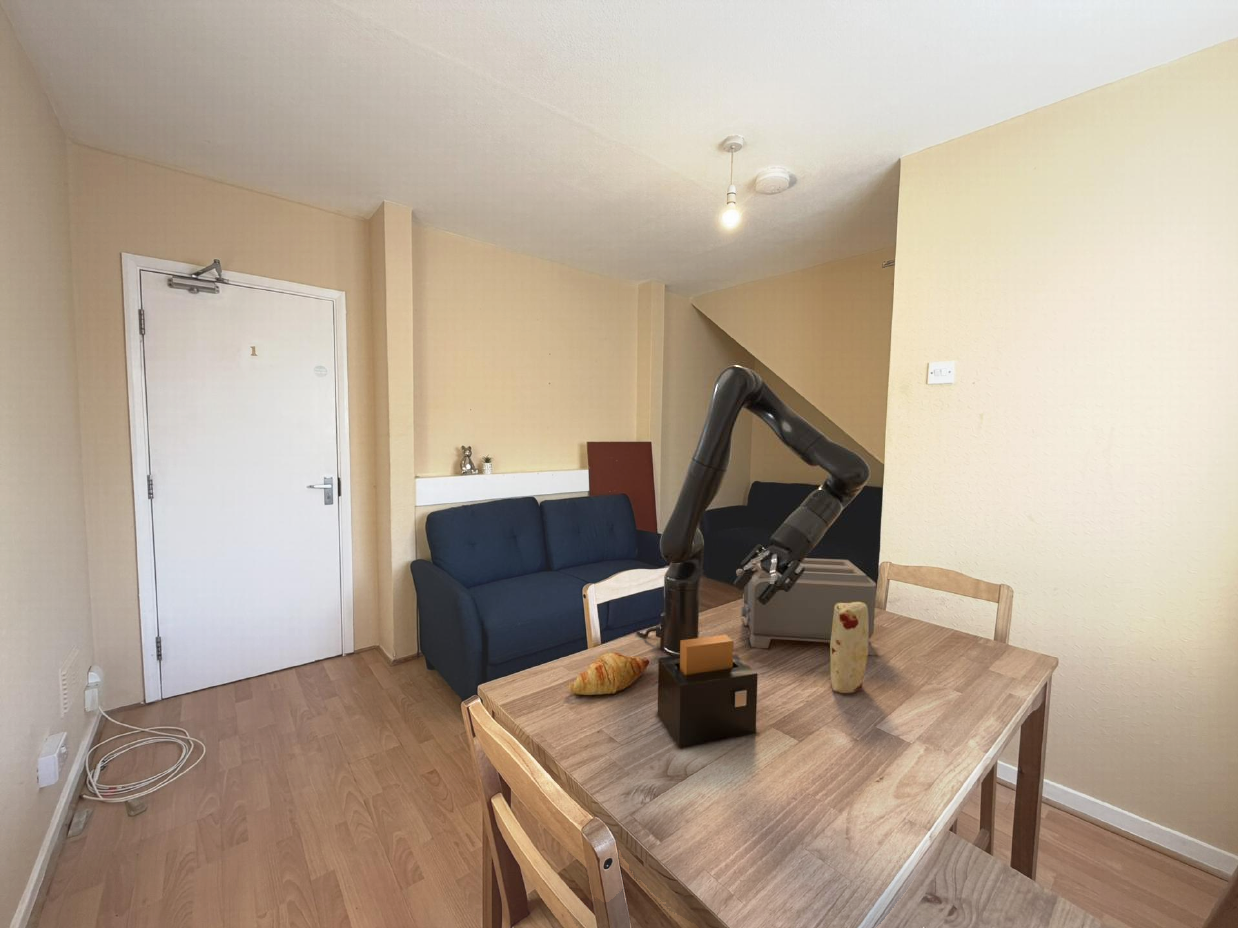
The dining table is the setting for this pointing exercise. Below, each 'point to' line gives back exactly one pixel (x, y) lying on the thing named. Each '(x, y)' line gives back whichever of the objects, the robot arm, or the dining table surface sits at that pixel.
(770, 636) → the toaster
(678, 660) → the slot toaster
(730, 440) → the robot arm
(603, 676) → the croissant
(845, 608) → the food model
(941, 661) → the dining table surface
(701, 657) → the orange slab
